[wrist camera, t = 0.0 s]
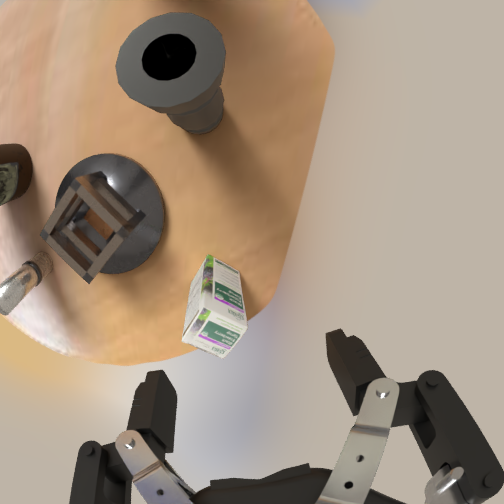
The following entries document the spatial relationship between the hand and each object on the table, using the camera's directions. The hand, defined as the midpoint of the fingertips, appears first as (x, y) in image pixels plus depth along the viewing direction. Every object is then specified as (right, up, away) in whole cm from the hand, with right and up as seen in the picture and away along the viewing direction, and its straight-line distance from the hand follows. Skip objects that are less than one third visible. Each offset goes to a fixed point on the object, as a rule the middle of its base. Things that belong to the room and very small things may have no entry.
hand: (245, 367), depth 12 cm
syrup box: (-5, +2, +31) cm, 31 cm away
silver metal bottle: (-36, +4, +26) cm, 44 cm away
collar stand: (-21, +11, +25) cm, 34 cm away
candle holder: (-7, +24, +22) cm, 33 cm away
